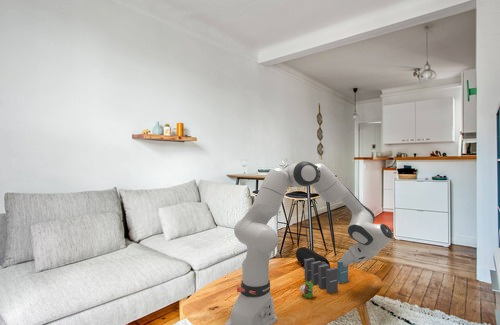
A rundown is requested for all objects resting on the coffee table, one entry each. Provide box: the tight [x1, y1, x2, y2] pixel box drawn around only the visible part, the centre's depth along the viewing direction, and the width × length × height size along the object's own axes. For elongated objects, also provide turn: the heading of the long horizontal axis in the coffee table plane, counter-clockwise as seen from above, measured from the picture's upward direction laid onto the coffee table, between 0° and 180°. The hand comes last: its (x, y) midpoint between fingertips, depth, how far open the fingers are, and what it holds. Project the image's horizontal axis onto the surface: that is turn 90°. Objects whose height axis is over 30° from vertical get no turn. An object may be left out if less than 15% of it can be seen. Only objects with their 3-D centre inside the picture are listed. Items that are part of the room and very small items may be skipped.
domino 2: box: [310, 261, 322, 286], centre depth 147 cm, size 2×6×11 cm, turn 118°
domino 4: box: [325, 266, 339, 295], centre depth 138 cm, size 2×6×11 cm, turn 118°
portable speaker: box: [295, 246, 331, 269], centre depth 169 cm, size 26×10×10 cm, turn 19°
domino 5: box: [336, 259, 349, 284], centre depth 148 cm, size 2×6×11 cm, turn 118°
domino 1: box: [303, 258, 315, 282], centre depth 152 cm, size 2×6×11 cm, turn 118°
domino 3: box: [318, 264, 329, 290], centre depth 142 cm, size 2×6×11 cm, turn 118°
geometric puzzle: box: [299, 280, 317, 299], centre depth 133 cm, size 7×7×8 cm
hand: (351, 263), depth 143 cm, fingers open, 8 cm apart
